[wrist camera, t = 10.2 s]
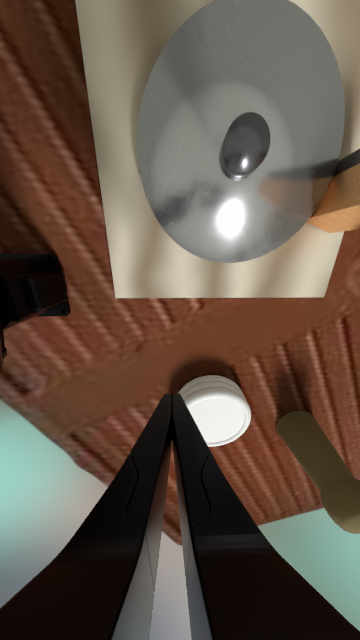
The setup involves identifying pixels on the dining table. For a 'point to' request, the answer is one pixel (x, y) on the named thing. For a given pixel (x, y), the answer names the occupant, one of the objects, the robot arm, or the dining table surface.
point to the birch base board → (123, 171)
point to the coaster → (217, 408)
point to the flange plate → (213, 100)
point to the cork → (323, 468)
